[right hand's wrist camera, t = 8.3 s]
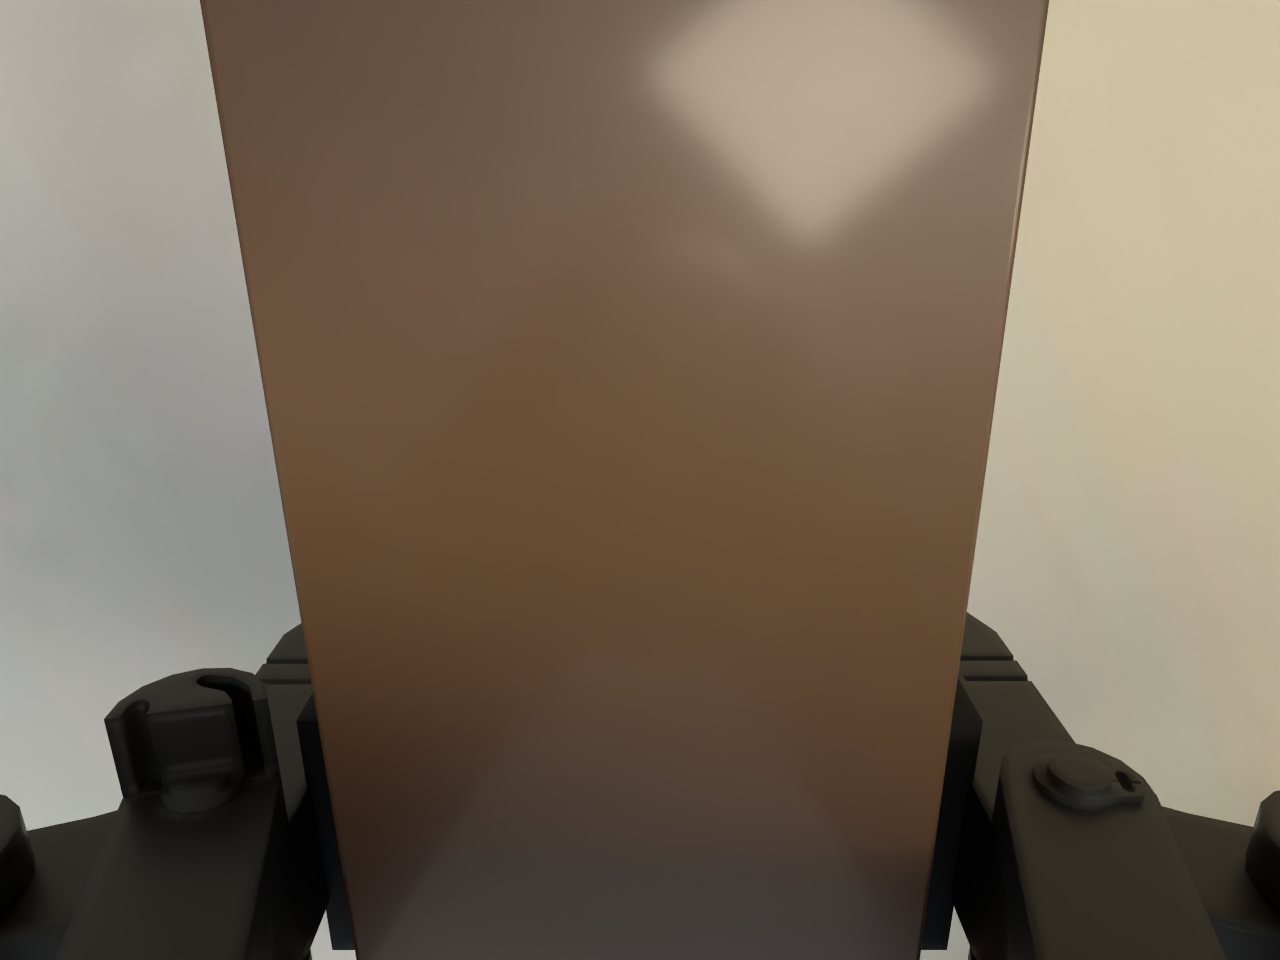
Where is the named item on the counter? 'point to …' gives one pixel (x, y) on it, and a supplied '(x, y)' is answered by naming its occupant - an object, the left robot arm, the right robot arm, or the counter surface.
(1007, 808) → the right robot arm
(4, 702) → the counter surface
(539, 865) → the post
